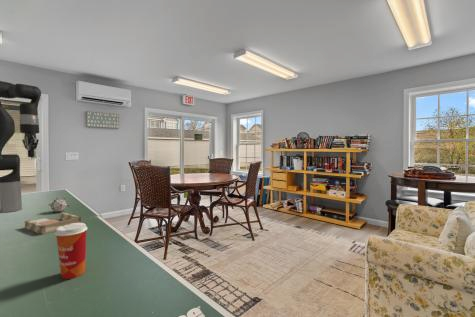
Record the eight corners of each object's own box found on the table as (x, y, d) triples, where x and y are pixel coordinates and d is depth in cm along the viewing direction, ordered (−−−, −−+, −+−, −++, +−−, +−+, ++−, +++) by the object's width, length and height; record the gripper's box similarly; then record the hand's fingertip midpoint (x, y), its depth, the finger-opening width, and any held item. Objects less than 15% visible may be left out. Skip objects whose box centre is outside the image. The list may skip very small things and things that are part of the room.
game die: (63, 217, 136) (75, 203, 138) (51, 216, 128) (64, 201, 130) (54, 209, 138) (65, 194, 140) (41, 207, 130) (53, 192, 132)
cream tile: (29, 227, 109) (29, 221, 109) (45, 224, 114) (45, 218, 114) (34, 230, 106) (34, 223, 106) (50, 226, 111) (50, 220, 111)
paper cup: (51, 277, 66) (48, 228, 66) (80, 264, 73) (78, 220, 72) (66, 284, 63) (63, 233, 62) (95, 270, 69) (93, 224, 69)
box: (24, 228, 107) (24, 220, 107) (63, 219, 121) (62, 212, 121) (42, 234, 99) (42, 226, 99) (81, 224, 113) (81, 216, 112)
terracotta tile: (38, 229, 107) (38, 222, 107) (54, 225, 112) (53, 219, 112) (44, 231, 104) (44, 224, 104) (60, 227, 109) (59, 221, 109)
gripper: (14, 124, 122) (16, 157, 123) (25, 122, 115) (27, 157, 116) (32, 125, 128) (34, 156, 129) (44, 123, 122) (45, 157, 123)
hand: (31, 157), depth 123 cm, fingers closed
